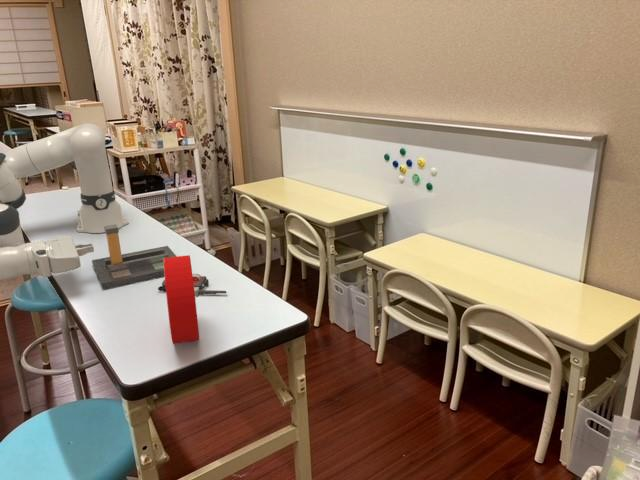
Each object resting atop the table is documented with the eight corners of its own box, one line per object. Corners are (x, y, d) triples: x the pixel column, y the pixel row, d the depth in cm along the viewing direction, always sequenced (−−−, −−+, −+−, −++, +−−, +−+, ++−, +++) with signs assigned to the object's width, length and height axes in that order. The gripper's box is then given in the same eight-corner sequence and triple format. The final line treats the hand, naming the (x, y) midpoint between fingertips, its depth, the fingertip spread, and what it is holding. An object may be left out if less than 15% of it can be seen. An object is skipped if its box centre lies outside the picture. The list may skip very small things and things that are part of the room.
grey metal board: (92, 266, 161) (90, 254, 160) (168, 251, 173) (166, 240, 171) (103, 289, 145) (100, 277, 144) (185, 271, 156) (184, 260, 155)
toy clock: (201, 356, 113) (192, 275, 106) (174, 361, 112) (163, 279, 105) (195, 314, 131) (188, 243, 124) (172, 318, 130) (163, 245, 123)
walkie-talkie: (155, 297, 142) (225, 298, 141) (153, 282, 140) (224, 284, 139) (166, 283, 150) (232, 284, 149) (164, 269, 148) (231, 271, 147)
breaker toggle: (110, 265, 156) (103, 226, 151) (122, 263, 157) (115, 224, 153) (112, 269, 153) (105, 229, 148) (124, 266, 155) (118, 227, 150)
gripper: (40, 255, 152) (89, 246, 159) (45, 279, 136) (100, 269, 142) (36, 235, 150) (86, 227, 157) (40, 258, 134) (96, 248, 140)
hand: (93, 247), depth 149 cm, fingers closed
